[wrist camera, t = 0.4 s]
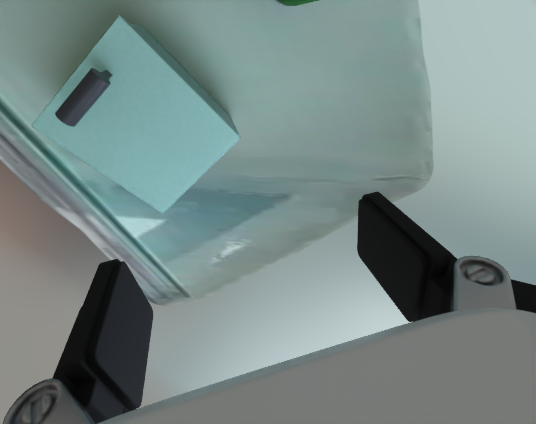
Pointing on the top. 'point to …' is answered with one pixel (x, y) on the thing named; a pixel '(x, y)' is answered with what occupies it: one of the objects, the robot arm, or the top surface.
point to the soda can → (294, 2)
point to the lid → (136, 119)
